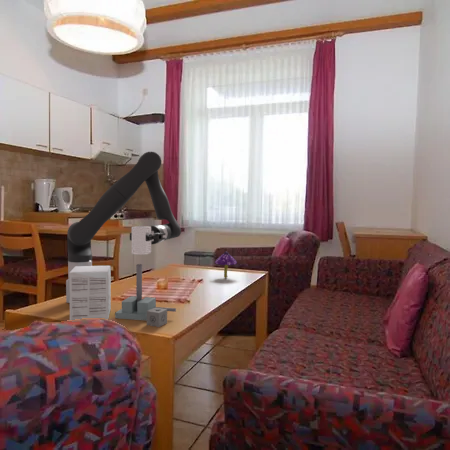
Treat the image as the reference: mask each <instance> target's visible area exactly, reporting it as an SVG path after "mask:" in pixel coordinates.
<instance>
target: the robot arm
mask: <svg viewBox="0 0 450 450" xmlns="http://www.w3.org/2000/svg"><path fill="white" fill-rule="evenodd" d="M161 166H162V157H161V156H160V154H159V153H157V152H155V151H147V152H145V153H142V155H141V156H140V157H139V159H138V160H137V162H136V164H135V165H133V167H132V168H131V169H130V170H129V171H128V172H127V173H126V174H124V175H123V176H121V177H120V178H119V179H118V180H117V181H116V182H114V183H113V184H112V185H111V186H110V187H109V188H108V189H107V190H106V191H105V192H103V194H102V195H101V196H100V198H99V199H98V200H97V202H95V203H96V204H94V207H93V208H92V209H91V210H90V212H88V214H86V215H85V216H84V217H83V218H82V219H80V220H79V221H77V222H74V223H72V224H71V225H70V226H69V227H68V229H67V232H66V233H67V241H66V242H67V258H68V259H67V263H68V264H67V265H68V266H67V267H68V269H67V271H68V272H67V273H68V275H67V276H68V279H67V278H66V281H65V285H66V287H65V290H66V291H65V292H66V293H65V298H66V301H65V303H66V304H67V303H68V304H70V286H69V272H70V271H71V270H72V269H73V268H74V267H75V266H93V253H92V243H91V242H92V239H93V238H95V235H96V234H97V233H98V232H99V231H100V229H101V228H102V227H103V225H104V224H106V222H107V221H109V220H110V219H111V218H112V217H113V216H114V215H116V213H117V212H119V211H120V210H121V209H122V208H123V207H124V206H125V204H127V203H128V202H129V200H130V199H131V198H132V197H133V196H134V195H135V194H136V193H137V191H138V190H139V188H140V187H141V186H142V185H143V184H144V182H145V184H146V186H147V189H148V191H149V195H150V199H151V202H152V204H153V205H152V206H153V208H154V212H155V216H156V218H157V219H158V220H162V221H163V220H165V221H167V222H168V223H165V224H154V225H153V224H152V225H150V226H151V234H149V235H146V241H150V240H151V245H156V244H159V243H162V242H164V241H168V240H171V239H175V238H178V237H180V236H181V233H182V228H181V226H180V223H178V221H177V220H176V218H175V216H174V214H173V212H172V209H171V205H170V202H169V198H168V196H167V194H166V192H165V190H164V188H163V187H162V183H161V181H160V177H159V170H160V169H161ZM129 241H130V242H132V232H129Z"/></svg>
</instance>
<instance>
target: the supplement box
mask: <svg viewBox="0 0 450 450" xmlns="http://www.w3.org/2000/svg"><path fill="white" fill-rule="evenodd" d="M111 276H112V275H111V265H92V266H75V267H74V268H73V269H72V270H71V271H70V272H69V286H70V303H69V321H70V320H75V319H82V318H105V319H108V320H109V317H110V313H111V307H112V305H111V303H112V302H111V299H112V298H111V297H112V296H111V294H112V293H111V284H112V283H111V279H112V278H111Z"/></svg>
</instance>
